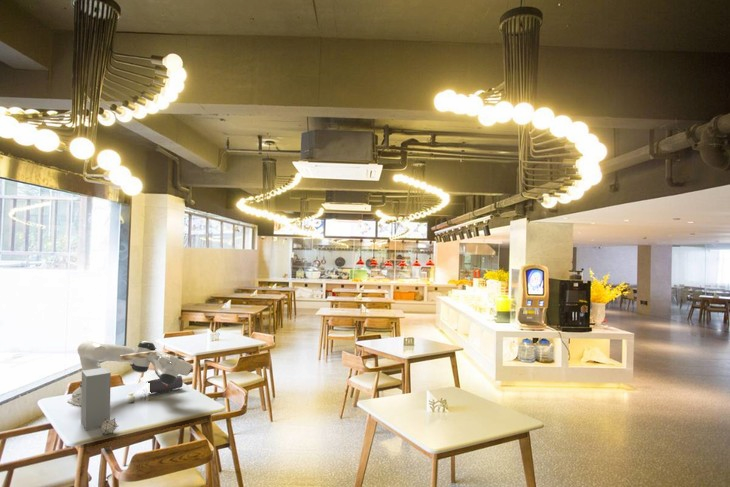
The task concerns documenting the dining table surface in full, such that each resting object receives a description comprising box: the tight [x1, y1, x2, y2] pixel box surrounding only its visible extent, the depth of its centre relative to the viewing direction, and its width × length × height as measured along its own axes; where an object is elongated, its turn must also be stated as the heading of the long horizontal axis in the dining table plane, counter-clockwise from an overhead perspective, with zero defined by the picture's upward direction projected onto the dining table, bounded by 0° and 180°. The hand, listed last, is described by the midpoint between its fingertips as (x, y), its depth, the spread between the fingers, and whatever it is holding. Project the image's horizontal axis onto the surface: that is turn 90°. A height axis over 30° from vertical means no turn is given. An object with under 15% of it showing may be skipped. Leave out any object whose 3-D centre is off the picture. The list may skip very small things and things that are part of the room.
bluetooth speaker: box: [146, 375, 184, 394], centre depth 323 cm, size 23×9×10 cm, turn 131°
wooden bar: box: [120, 350, 157, 361], centre depth 277 cm, size 20×3×3 cm, turn 130°
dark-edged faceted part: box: [99, 418, 119, 436], centre depth 248 cm, size 9×8×10 cm
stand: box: [80, 367, 112, 431], centre depth 263 cm, size 12×16×30 cm
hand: (148, 353), depth 281 cm, fingers closed on wooden bar, 3 cm apart
